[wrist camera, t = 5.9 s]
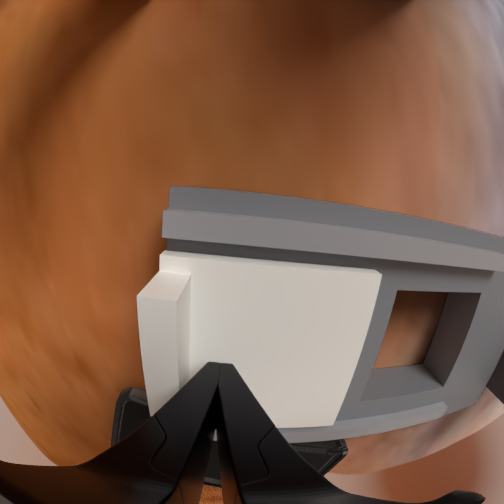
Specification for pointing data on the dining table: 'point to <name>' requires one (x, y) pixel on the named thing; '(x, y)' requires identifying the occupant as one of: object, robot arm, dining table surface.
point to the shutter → (257, 330)
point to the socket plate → (393, 278)
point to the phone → (137, 413)
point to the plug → (497, 380)
